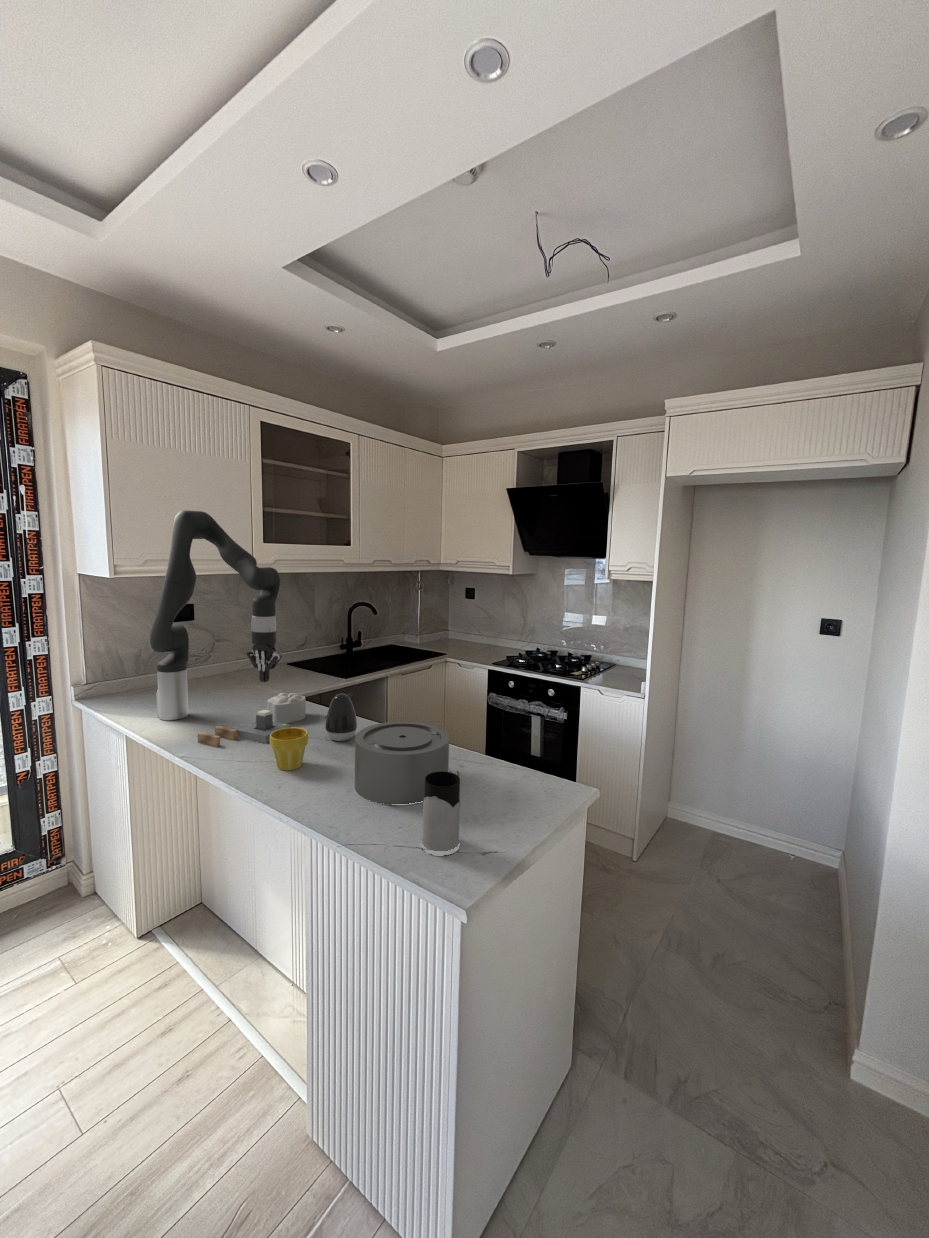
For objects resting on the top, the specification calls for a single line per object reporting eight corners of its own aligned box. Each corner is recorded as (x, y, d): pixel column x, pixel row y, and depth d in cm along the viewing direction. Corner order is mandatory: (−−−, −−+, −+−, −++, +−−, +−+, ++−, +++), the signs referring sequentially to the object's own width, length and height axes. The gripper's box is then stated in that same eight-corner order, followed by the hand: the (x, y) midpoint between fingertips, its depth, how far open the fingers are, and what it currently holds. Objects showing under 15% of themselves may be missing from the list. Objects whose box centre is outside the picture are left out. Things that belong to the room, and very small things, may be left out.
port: (237, 737, 171) (236, 729, 170) (264, 726, 182) (263, 718, 181) (265, 743, 166) (265, 735, 166) (291, 732, 177) (291, 724, 177)
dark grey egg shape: (363, 736, 176) (364, 692, 174) (344, 746, 166) (344, 699, 164) (339, 730, 180) (339, 687, 178) (318, 740, 171) (318, 695, 169)
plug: (256, 735, 173) (256, 712, 172) (264, 732, 176) (264, 709, 175) (264, 737, 171) (264, 713, 170) (272, 733, 175) (272, 710, 174)
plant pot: (292, 776, 144) (292, 742, 142) (262, 769, 147) (261, 736, 146) (315, 762, 153) (315, 730, 152) (286, 756, 157) (286, 725, 155)
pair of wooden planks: (197, 742, 165) (197, 733, 165) (218, 734, 172) (218, 725, 172) (216, 746, 162) (216, 737, 162) (237, 738, 169) (236, 729, 169)
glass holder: (413, 850, 110) (414, 783, 108) (440, 819, 124) (441, 758, 122) (451, 860, 107) (453, 791, 105) (474, 827, 121) (477, 765, 119)
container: (464, 794, 137) (465, 745, 135) (371, 814, 125) (372, 761, 123) (425, 759, 159) (426, 717, 157) (343, 773, 147) (344, 727, 145)
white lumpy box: (264, 718, 190) (264, 695, 189) (297, 711, 200) (296, 689, 198) (278, 725, 183) (278, 701, 182) (311, 717, 193) (311, 694, 191)
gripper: (288, 630, 170) (288, 681, 173) (256, 625, 175) (257, 676, 177) (271, 633, 163) (271, 687, 166) (239, 628, 168) (239, 681, 171)
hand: (264, 681), depth 172 cm, fingers closed
